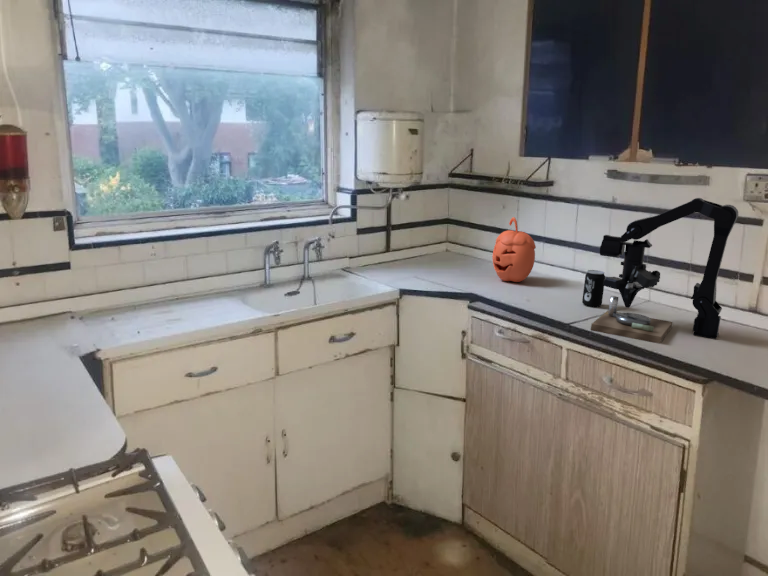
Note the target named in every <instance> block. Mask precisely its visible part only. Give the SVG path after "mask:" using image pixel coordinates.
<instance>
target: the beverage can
mask: <svg viewBox="0 0 768 576" xmlns="http://www.w3.org/2000/svg"><path fill="white" fill-rule="evenodd" d="M605 278H606V276H605V272H604V271H602V270H596V269H590V270H589V269H588V270H587V271H586V273H585V276H584V285H583V291H582V292H583V293H582V305H583V306H585V307H588V308H600V307H601V306H602V305H603V299H604V298H603V297H604V291H605V286H603V284H604V279H605Z"/></svg>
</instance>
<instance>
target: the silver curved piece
mask: <svg viewBox="0 0 768 576" xmlns="http://www.w3.org/2000/svg"><path fill="white" fill-rule="evenodd" d="M618 304H619V296H616V295H611V296H610V300H609V304H608V305H609V306H608V310H609V312H608V315H609V316H614V317H616V321H617V322H619V323H622V324H625V325H629V326H632V323H637V324H643V325H648V326H649V325H650V322H651V319H650V318H651V317H649V316H646V315H644V314H640V313H633V312H620V313H616V312H618V306H619V305H618Z"/></svg>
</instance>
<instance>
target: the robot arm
mask: <svg viewBox="0 0 768 576" xmlns="http://www.w3.org/2000/svg"><path fill="white" fill-rule="evenodd" d="M695 213H699V214H701V215H702V216H704V217H708V218H710V219H713V220H714V221H713V239H712V242H711V245H710V246H711V247H710V250H709V253H708V257H707V261H706V265H705V269H704V273H703V276H702V280H701V282H700V283H699V282H696V283H695V284H694V286H693V294H692V296H691V297H690V299H691V300H692V306H693V308H694V309H695V310H697V315H696V317H694V319H693V320H694V321H693V326H692V333H693V336H696V337H697V336H698V337H702V338H709V339H713V340H714V339H715V340H716V339H717V338H718V337H719V330H720V329H719V328H720V323H721V319H722V318H721V317H722V316H721V315H720V313H721V312H722V310H723V308H722V306H721V305H720V304H719V302H718V301H717V280H718V276H719V272H720V269H721V264H722V262H723V257H724V254H725V251H726V250H725V249H726V247H727V242H728V238H729V236H730V234H731V232H732V230H733V229H734V226H735V224H736V222H737V219H738V217H739V211H738V209H737V207H735V206H734V205H732V204H725V205H722V204H720V203H715V202H712V201H708V200H705V199H703V198H701V197H696V198H693V199H691V200H690V201H688V202H686V203H683V204H681V205H678V206H675V207H674V208H671V209H669V210H666V211H664V212H662V213H659V214H657V215H654V216H649V217H644V218H640V219H637V220H636V219H635V220H634V221H631V222H630V223H629V224H627V226H626V231H625V232H623V234H622V235H621V236H613V235H610V234H605V235H603V237H602V240H601V245H600V246H599V255H600V256H601V257H602V256H603V257H607V258H608V257H609V258H617V259H619V258H620V256H623V255H624V257H623V258H624V259H623V261H620V266H622V273H620V274H618V277H616V276H607V277H606V276H605V279H604V284H603V286H604V287H607V288H610V289H614V290H617V291H619V293H620V296H621V299H622V302H623V305H624V307H625V308H627V309H629V308H631V305H632V304H633V302H634V301H635V297H636V296H637V294H638V292H641V291H642V290H645V288H646V289H647V288H655V286H658V283H659V282H660V279H661V272H660V271H658V270H652V271H651V270H649V271H648V270H647V264H646V263H644V258H645V251H646V248H647V249H650V248H651V247H653V244H652V243H651V242H650V241H649V239H647V238H646V239H645V240H640V239H642V238H644V237H645V236H648V235H649V234H651V233H652V232H653V231H654V232H655V230H657V229H659V228H660V227H662V226H665V225H667V224H670V223H673V222H675V221H677V220H680V219H683V218H685V217H687V216H689V215H692V214H695ZM630 240H633V242H629V241H630Z"/></svg>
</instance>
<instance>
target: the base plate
mask: <svg viewBox="0 0 768 576" xmlns="http://www.w3.org/2000/svg"><path fill="white" fill-rule="evenodd" d="M608 312H609V309H608V310H606V311H605V312H603V314H602V315H600V316H599V317H598V318H596V320H594V321H593V322H592V323H591V326H590V331H593V332H594V331H595V332H597V333H599V332H600V333H603V334H610V335H615V336H620V337H625V338H630V339H635V340H640V341H645V342H650V343H656V344H661V343H662V341H663V340H664V339H665V338H666V336H667V335H668V333H669V332H670V331H671V329H672V328H673V321H670V320H664V319H658V318H654V317H653V318H652V317H649V318H650V319H651V322H650V325H649V326H648V325H643V324H637V323H632V326H629V325H625V324H622V323H619V322H617V321H616V317H614V316H609V315H608ZM616 313H621V312H619V311H617V312H616Z"/></svg>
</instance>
